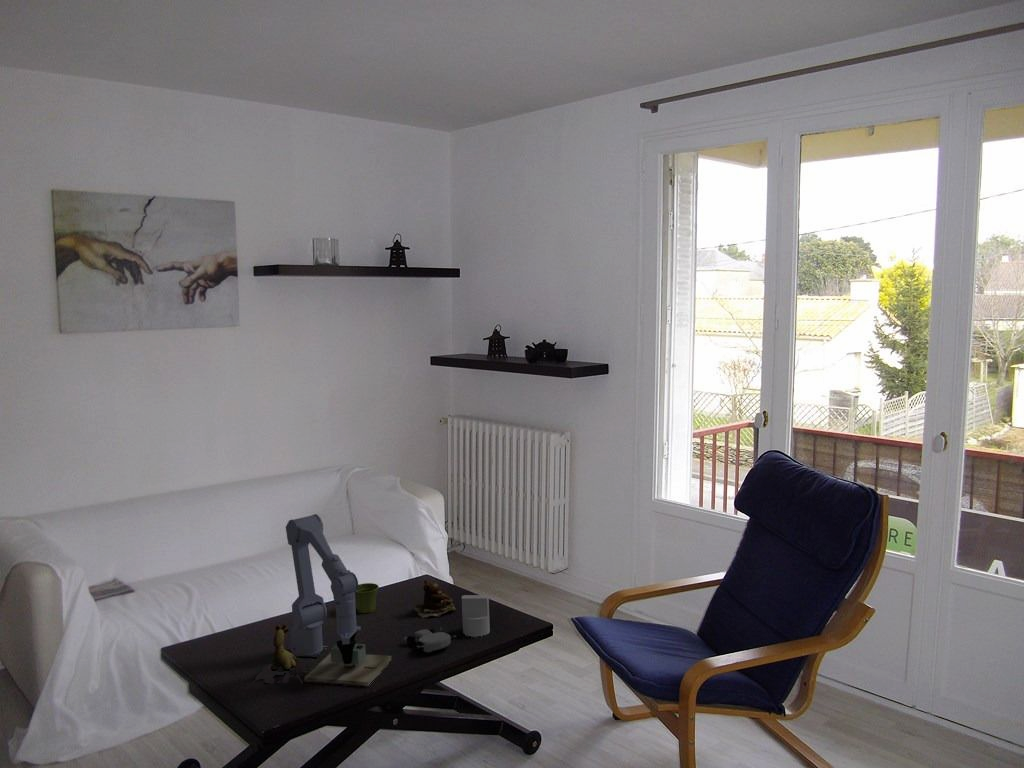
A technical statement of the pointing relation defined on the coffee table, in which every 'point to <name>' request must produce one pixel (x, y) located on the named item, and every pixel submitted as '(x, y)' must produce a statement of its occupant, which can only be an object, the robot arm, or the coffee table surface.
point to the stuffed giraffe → (282, 652)
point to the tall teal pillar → (357, 656)
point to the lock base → (349, 670)
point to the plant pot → (366, 597)
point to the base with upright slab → (475, 615)
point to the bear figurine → (434, 602)
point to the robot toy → (430, 640)
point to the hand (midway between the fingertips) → (348, 658)
